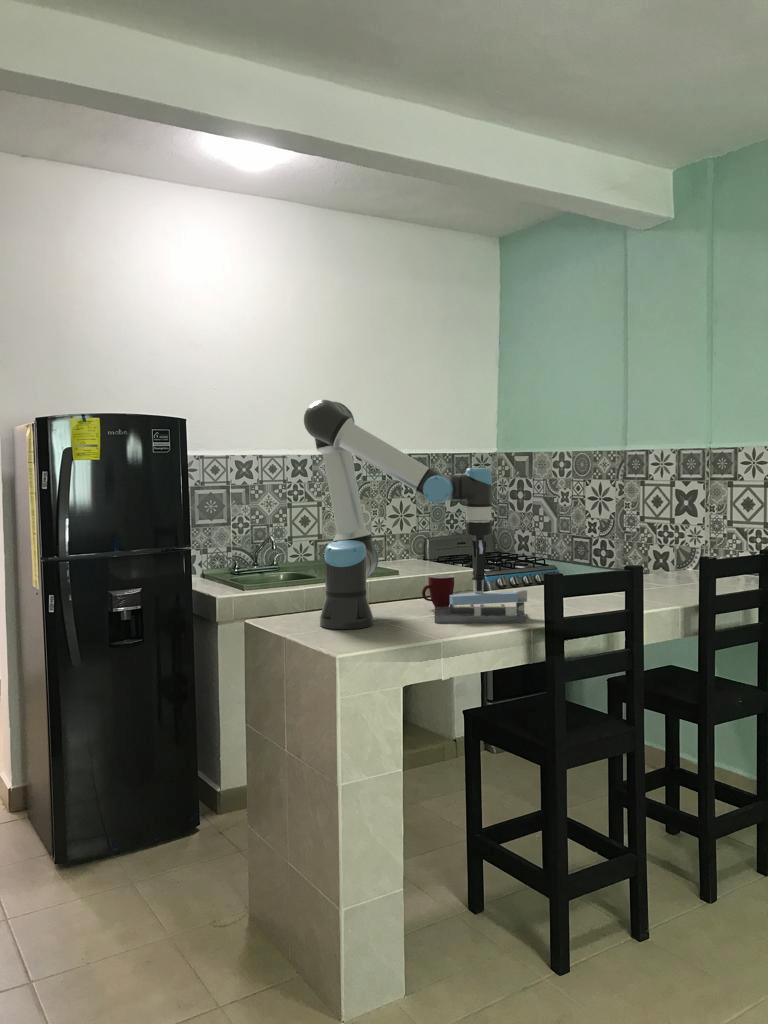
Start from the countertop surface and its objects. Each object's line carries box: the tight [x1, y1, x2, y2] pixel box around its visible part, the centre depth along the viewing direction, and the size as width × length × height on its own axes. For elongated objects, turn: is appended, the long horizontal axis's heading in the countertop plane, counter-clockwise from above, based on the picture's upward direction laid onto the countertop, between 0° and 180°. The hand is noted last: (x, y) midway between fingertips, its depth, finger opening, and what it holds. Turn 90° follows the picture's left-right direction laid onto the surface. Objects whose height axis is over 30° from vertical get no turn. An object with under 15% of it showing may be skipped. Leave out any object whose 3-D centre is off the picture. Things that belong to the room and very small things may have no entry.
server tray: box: [434, 602, 527, 624], centre depth 246 cm, size 26×15×4 cm, turn 86°
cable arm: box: [450, 589, 528, 605], centre depth 243 cm, size 23×4×3 cm, turn 102°
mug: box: [421, 574, 455, 608], centre depth 263 cm, size 10×8×10 cm
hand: (478, 601), depth 245 cm, fingers closed
